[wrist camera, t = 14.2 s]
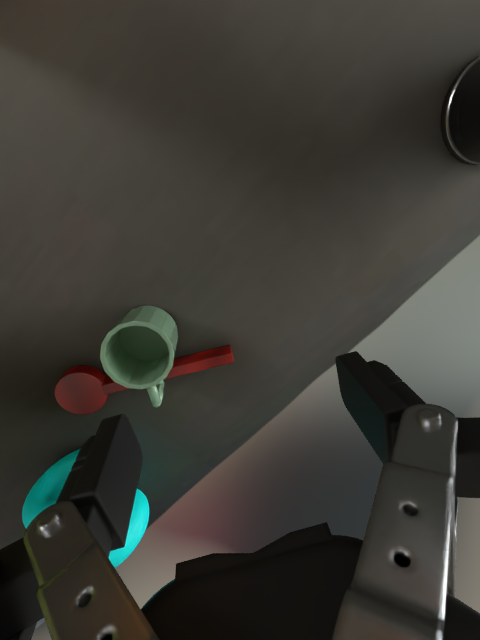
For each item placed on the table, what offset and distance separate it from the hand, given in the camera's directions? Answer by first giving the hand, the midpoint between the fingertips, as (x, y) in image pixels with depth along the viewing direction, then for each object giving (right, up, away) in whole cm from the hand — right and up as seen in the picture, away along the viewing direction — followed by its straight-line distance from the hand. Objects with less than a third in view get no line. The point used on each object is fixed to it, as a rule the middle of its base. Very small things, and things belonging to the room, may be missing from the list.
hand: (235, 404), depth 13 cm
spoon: (-11, -2, +25) cm, 28 cm away
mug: (-9, 0, +24) cm, 26 cm away
